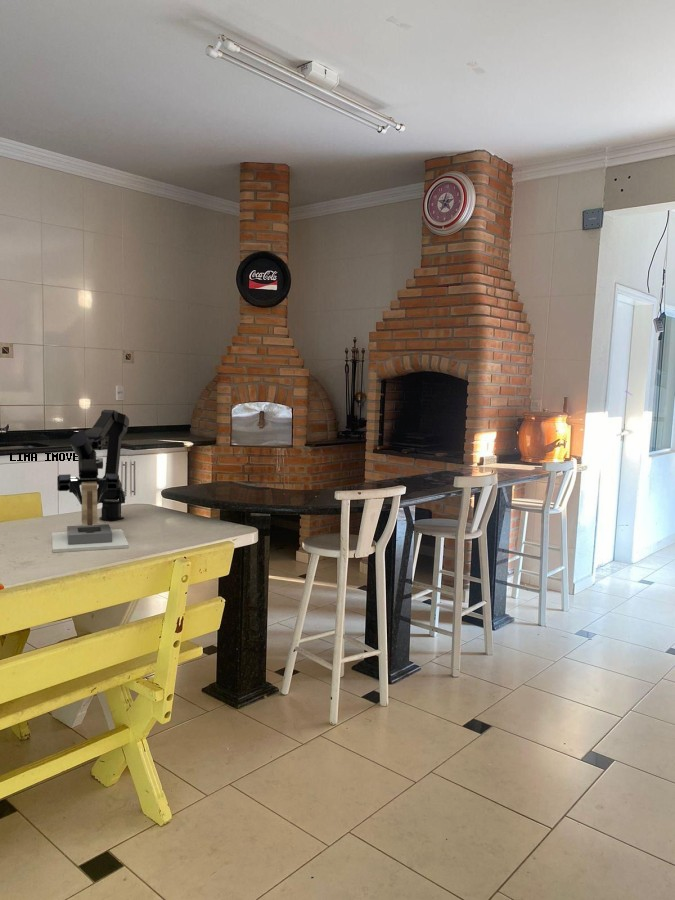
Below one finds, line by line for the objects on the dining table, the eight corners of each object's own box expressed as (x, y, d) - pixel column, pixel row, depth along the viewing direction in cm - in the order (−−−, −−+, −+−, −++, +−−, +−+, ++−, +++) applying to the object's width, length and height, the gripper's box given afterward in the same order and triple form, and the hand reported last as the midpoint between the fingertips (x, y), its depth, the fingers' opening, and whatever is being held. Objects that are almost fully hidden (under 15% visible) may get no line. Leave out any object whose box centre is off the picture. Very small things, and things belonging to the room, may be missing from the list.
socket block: (52, 535, 225) (52, 523, 225) (121, 532, 234) (121, 520, 233) (52, 552, 205) (52, 539, 205) (128, 547, 214) (128, 535, 213)
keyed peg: (81, 521, 220) (81, 482, 219) (96, 521, 222) (96, 481, 220) (82, 525, 215) (82, 484, 214) (97, 524, 217) (97, 484, 215)
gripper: (57, 449, 216) (57, 490, 207) (118, 449, 223) (122, 488, 215) (57, 470, 224) (57, 510, 216) (116, 469, 232) (119, 507, 223)
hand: (89, 503), depth 217 cm, fingers closed on keyed peg, 4 cm apart
